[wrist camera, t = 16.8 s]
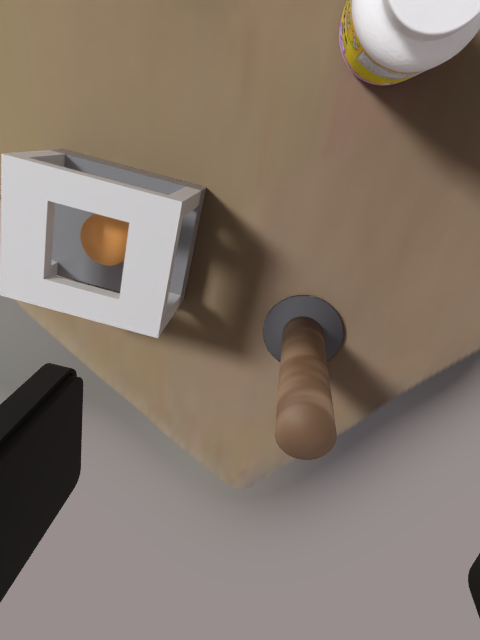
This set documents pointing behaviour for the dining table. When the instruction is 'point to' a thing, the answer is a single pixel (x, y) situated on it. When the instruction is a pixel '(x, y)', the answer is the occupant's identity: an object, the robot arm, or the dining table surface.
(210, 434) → the dining table surface
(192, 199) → the white hollow box
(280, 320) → the mat
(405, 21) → the supplement bottle
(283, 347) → the brown wooden rod
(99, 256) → the orange hemisphere
